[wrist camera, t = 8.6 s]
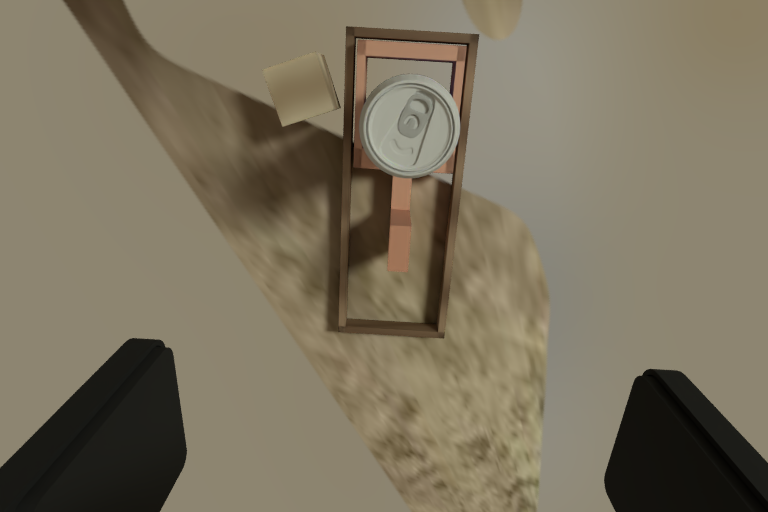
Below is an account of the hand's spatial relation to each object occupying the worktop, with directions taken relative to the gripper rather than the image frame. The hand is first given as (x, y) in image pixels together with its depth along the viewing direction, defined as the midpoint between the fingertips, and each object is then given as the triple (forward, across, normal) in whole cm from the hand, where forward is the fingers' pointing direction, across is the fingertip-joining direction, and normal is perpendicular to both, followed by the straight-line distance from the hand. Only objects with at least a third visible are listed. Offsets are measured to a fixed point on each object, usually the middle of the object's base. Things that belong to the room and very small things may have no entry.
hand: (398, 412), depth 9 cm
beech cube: (+31, +7, -5) cm, 32 cm away
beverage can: (+31, 0, -3) cm, 31 cm away
